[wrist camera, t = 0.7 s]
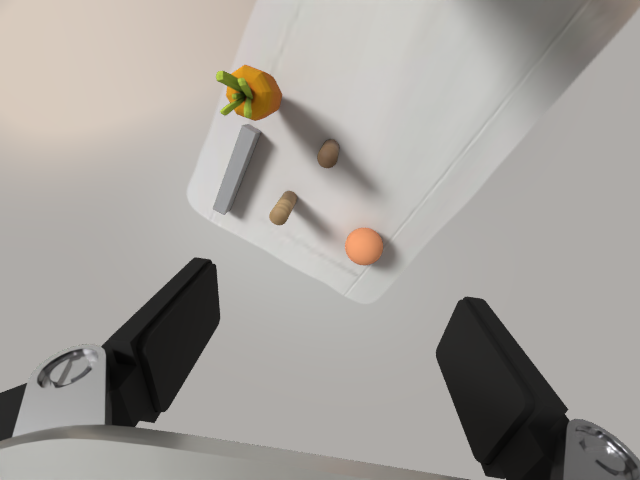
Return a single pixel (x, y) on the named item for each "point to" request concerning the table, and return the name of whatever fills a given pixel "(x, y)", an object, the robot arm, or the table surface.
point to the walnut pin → (328, 154)
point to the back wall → (236, 168)
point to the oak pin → (283, 208)
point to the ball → (364, 246)
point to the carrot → (250, 93)
